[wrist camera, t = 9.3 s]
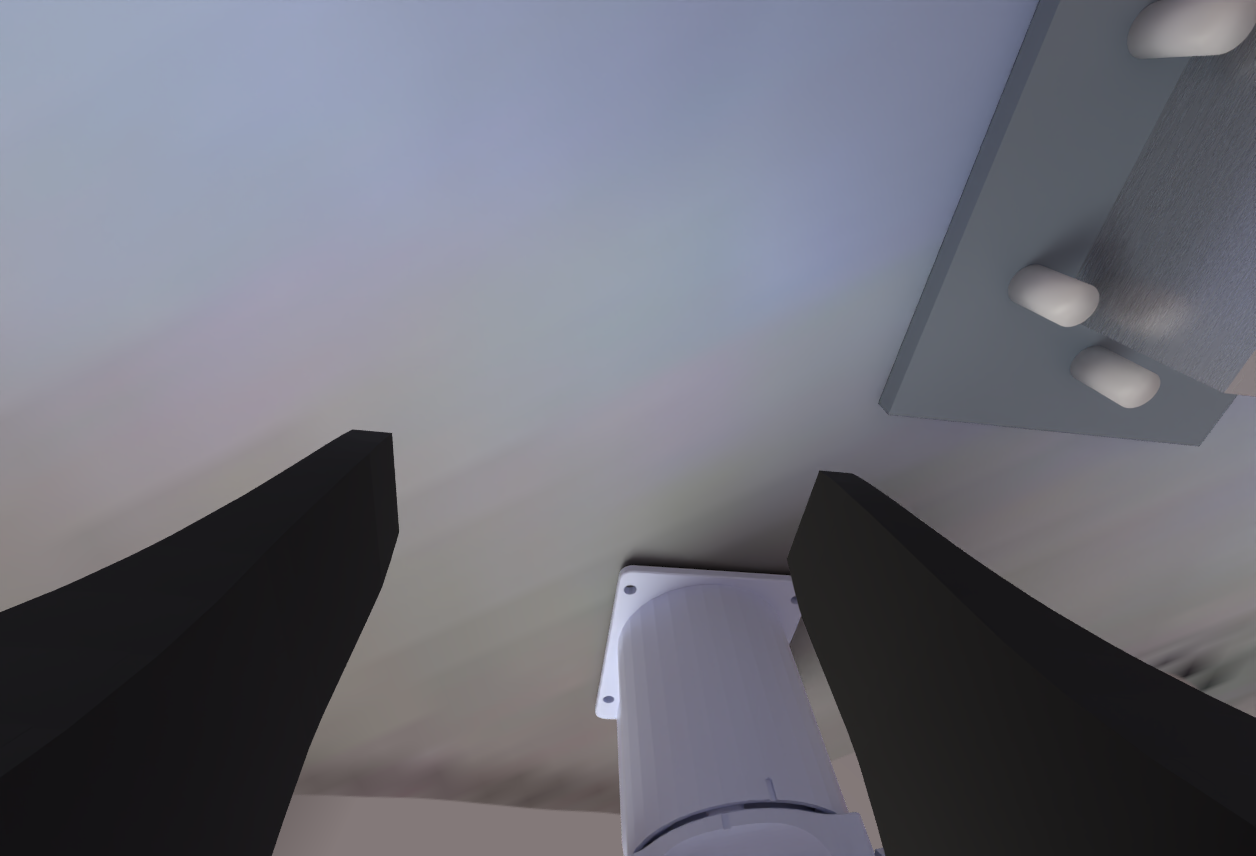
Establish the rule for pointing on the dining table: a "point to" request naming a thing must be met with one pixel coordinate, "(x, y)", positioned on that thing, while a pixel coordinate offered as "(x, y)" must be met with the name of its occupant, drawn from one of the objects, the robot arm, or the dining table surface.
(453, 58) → the dining table surface
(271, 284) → the dining table surface
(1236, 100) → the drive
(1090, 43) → the grey knobbed plate
